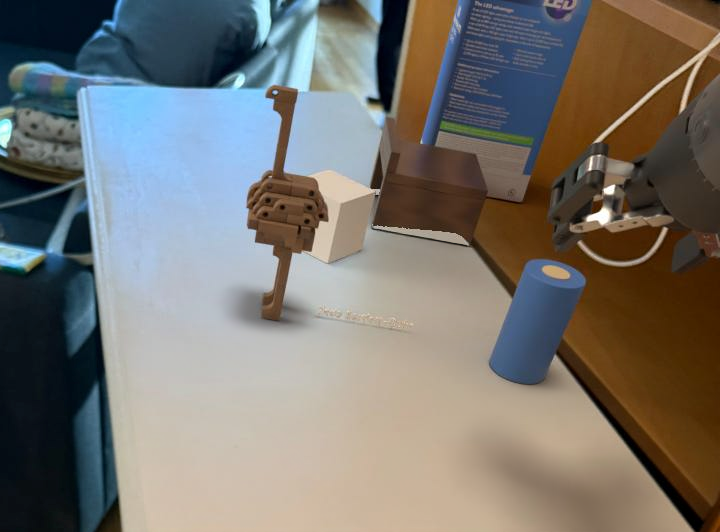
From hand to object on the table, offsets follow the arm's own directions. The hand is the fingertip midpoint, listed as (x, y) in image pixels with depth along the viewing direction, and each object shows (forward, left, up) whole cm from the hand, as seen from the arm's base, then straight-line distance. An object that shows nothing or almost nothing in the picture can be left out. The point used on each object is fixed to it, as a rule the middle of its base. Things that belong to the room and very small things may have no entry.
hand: (619, 249), depth 66 cm
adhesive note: (+18, -29, -16) cm, 38 cm away
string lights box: (0, -55, -16) cm, 57 cm away
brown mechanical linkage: (+18, -13, -16) cm, 28 cm away
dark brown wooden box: (+7, -41, -16) cm, 45 cm away
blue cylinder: (0, -10, -16) cm, 19 cm away
